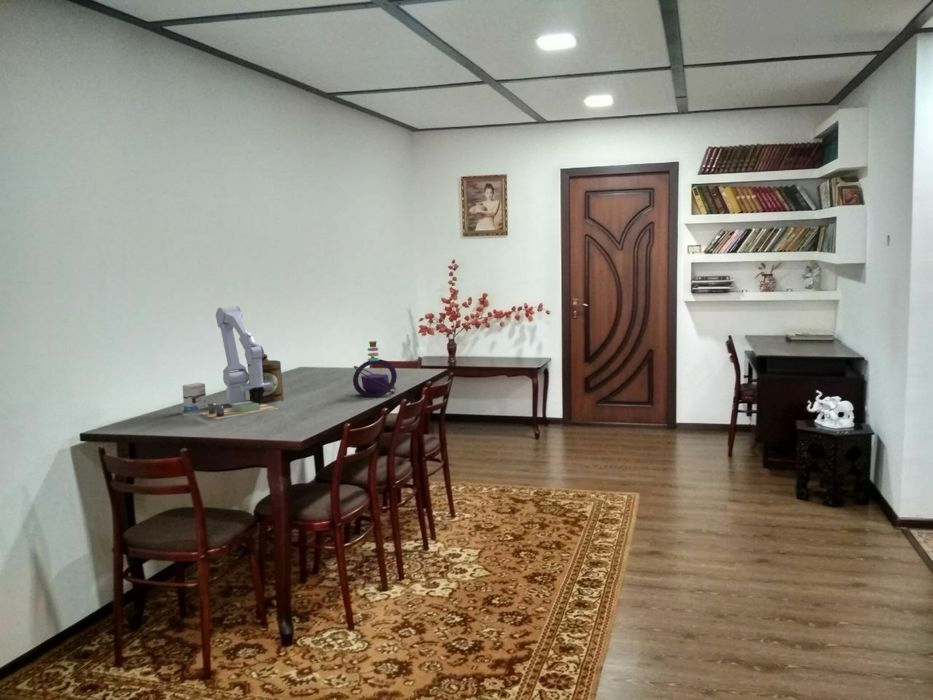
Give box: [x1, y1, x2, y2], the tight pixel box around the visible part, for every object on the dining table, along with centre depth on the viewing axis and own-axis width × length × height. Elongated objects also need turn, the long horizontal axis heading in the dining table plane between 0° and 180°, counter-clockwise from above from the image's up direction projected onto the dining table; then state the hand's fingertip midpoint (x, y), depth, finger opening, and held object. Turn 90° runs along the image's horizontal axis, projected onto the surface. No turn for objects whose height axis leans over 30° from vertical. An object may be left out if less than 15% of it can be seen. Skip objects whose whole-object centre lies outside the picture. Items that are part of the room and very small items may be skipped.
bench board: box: [199, 403, 280, 420], centre depth 325 cm, size 18×28×1 cm, turn 131°
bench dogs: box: [207, 402, 225, 417], centre depth 318 cm, size 11×3×4 cm, turn 41°
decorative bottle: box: [352, 340, 398, 399], centre depth 359 cm, size 22×21×25 cm
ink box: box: [182, 382, 208, 412], centre depth 332 cm, size 8×5×12 cm, turn 149°
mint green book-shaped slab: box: [231, 400, 260, 413], centre depth 327 cm, size 10×8×2 cm
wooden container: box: [247, 353, 284, 404], centre depth 348 cm, size 15×15×22 cm
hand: (257, 405), depth 330 cm, fingers closed
